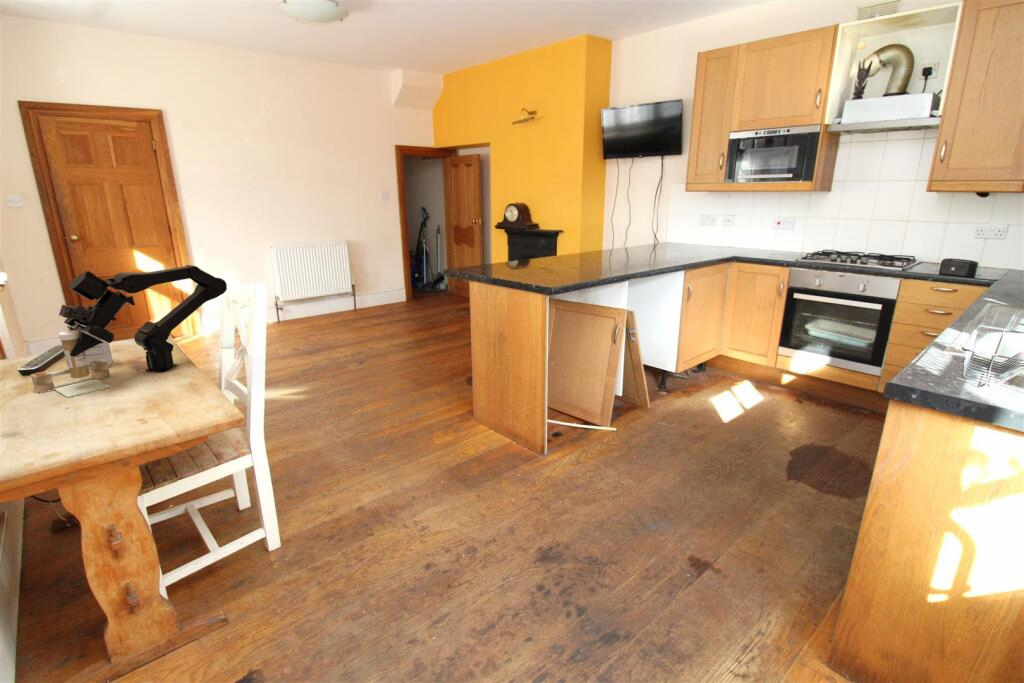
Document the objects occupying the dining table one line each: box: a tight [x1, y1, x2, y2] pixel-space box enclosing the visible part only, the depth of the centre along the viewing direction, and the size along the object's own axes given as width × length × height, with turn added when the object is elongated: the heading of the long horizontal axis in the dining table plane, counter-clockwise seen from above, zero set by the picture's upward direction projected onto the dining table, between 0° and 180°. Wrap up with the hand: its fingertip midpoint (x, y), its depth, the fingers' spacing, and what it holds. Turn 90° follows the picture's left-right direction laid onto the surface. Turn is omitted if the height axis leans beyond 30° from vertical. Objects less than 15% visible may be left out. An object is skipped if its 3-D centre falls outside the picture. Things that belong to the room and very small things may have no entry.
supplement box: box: [84, 327, 114, 371], centre depth 162 cm, size 7×7×13 cm
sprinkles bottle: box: [58, 330, 91, 379], centre depth 143 cm, size 5×5×13 cm
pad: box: [53, 378, 111, 399], centre depth 146 cm, size 10×10×1 cm
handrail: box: [30, 359, 111, 393], centre depth 149 cm, size 17×4×5 cm, turn 147°
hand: (68, 354), depth 142 cm, fingers closed on sprinkles bottle, 4 cm apart
